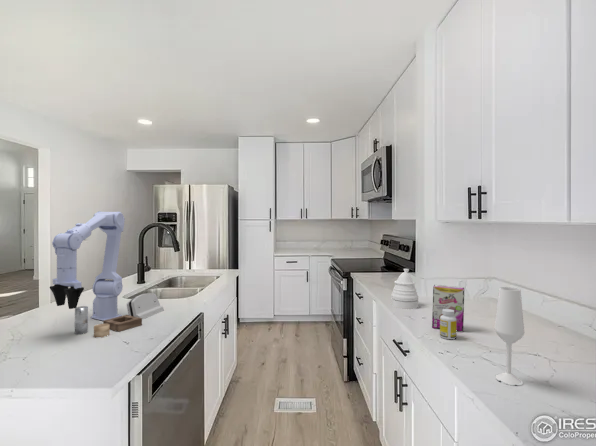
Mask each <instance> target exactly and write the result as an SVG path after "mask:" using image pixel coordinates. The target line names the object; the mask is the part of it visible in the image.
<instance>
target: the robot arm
mask: <svg viewBox="0 0 596 446" xmlns="http://www.w3.org/2000/svg"><path fill="white" fill-rule="evenodd" d="M125 220H126V218H125V217H124V213H123V212H121V211H100V210H99V211H97V212H95V213H93V216H92V217H91V218H90V219H88V221H86V222H85V223H84V222H83V223H82V222H81V223H80V222H78V223H76V224H75V226H73V227H72V228H70V229H69V228H68V229H67V230H66V231H65V232H64V233H62V232H61V233H58V234H57V235H55V236H54V237H53V240H52V242H51V243H52V247H53V249H54V253H55V255H56V278H52V285H51V286H49V290H50V291H51V293H52V295H53V296H54V301H55V304H56V306H57V307H61V306H64V305H66V300H67V307H68V309H69V310H72V309H75V308H76V307H78V304H79V300H80V297H81V295H82V293H83V291H84V290H85V287H84V286H82V281H80V280H78V278H77V275H78V274H77V273H78V272H77V271H78V268H77V267H78V262H77V260H78V257H77V255H78V254H77V253H78V252H77V251H78V249H80V247H81V245H82V243H83V241H85V240H86V239H87V238H89V237H90V236H91V235H92V231H95V230H96V229H97V228H99V230H101V231H102V232H103V233H105V235H106V242H105V248H104V249H105V250H104V255H103V264H102V270H101V271H102V272H100V273H99V274H98V275H97V276H95V280H94V283H93V285H92V292H93V294H94V295H95V297H94V299H93V301H92V316H90V319H95V320H99V321H102V322H103V321H104V320H108V319H112V318H116V317H120V316H123V315H122V314H118V296H120V294H121V293H122V291H123V287H124V285H123V277H122V276H121V275H120V274H119V273H117V269H118V261H119V255H120V254H119V253H120V246H121V240H122V239H121V238H122V233H123V232H124V229H125V228H124V227H125V222H126V221H125ZM66 298H67V299H66Z"/></svg>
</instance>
